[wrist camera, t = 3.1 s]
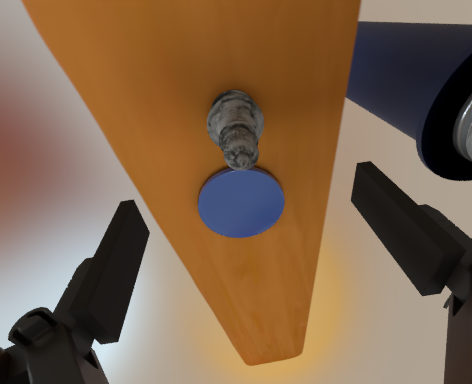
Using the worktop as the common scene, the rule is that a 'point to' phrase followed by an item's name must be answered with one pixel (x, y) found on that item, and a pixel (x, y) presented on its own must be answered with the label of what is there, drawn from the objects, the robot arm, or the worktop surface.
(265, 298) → the worktop surface
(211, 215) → the plate
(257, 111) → the grey tall tiered piece
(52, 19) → the worktop surface
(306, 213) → the worktop surface
